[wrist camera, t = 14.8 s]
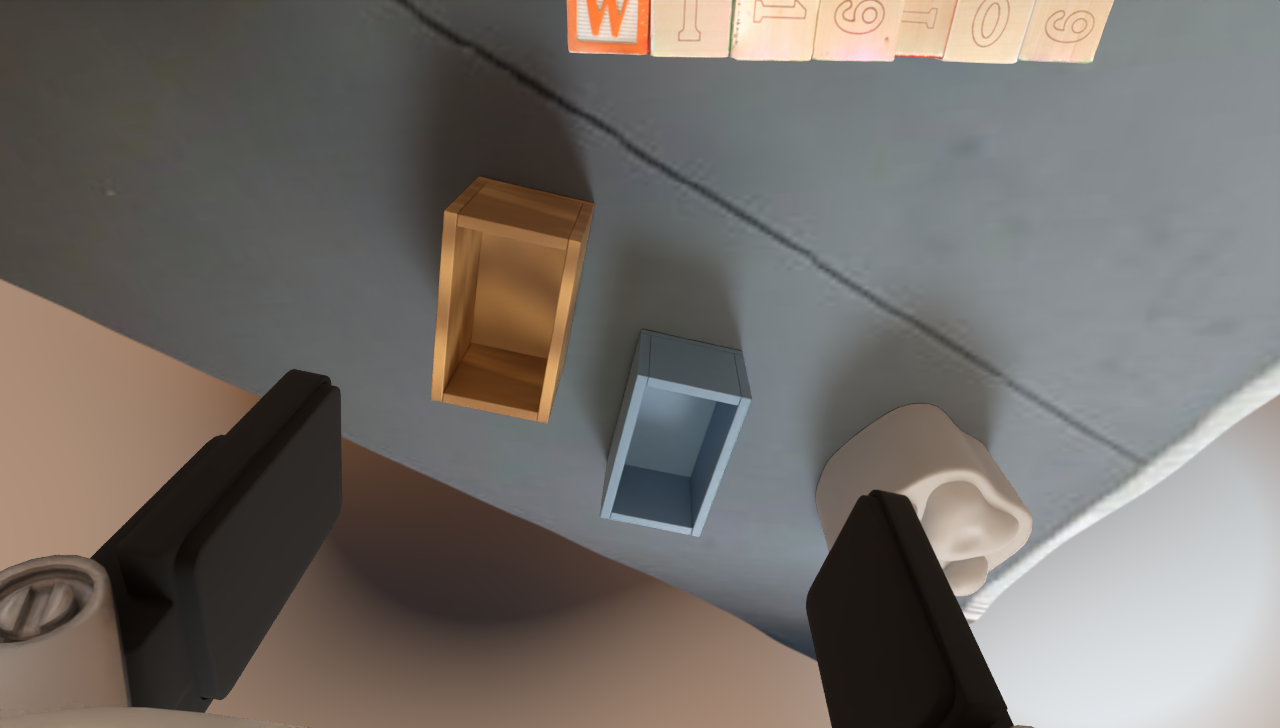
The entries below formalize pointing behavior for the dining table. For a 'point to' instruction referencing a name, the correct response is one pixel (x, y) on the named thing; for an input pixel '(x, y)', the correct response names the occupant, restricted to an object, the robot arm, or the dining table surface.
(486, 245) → the wooden basket
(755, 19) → the stack of blocks
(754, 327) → the dining table surface
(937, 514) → the lumpy-topped squat cylinder
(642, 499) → the blue basket
